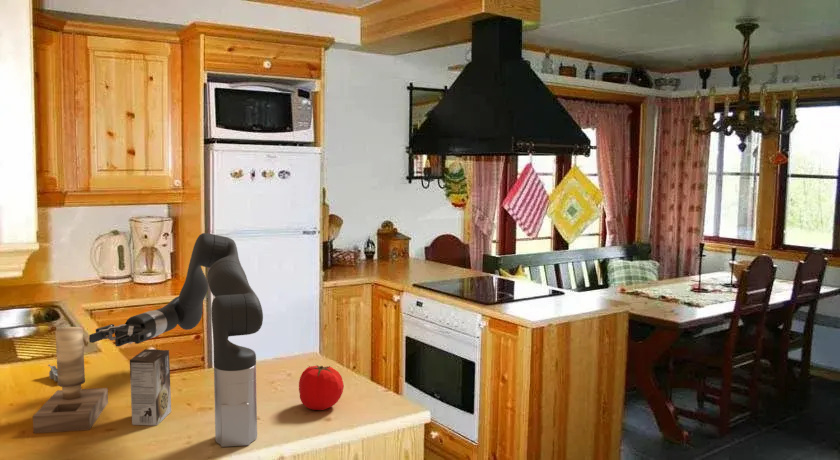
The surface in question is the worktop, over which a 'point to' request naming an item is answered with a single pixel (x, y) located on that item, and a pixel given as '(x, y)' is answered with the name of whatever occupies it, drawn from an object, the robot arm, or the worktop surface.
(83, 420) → the seat board
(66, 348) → the stool leg
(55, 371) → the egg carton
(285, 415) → the worktop surface
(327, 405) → the tomato
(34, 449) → the worktop surface
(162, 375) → the coffee box
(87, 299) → the worktop surface
